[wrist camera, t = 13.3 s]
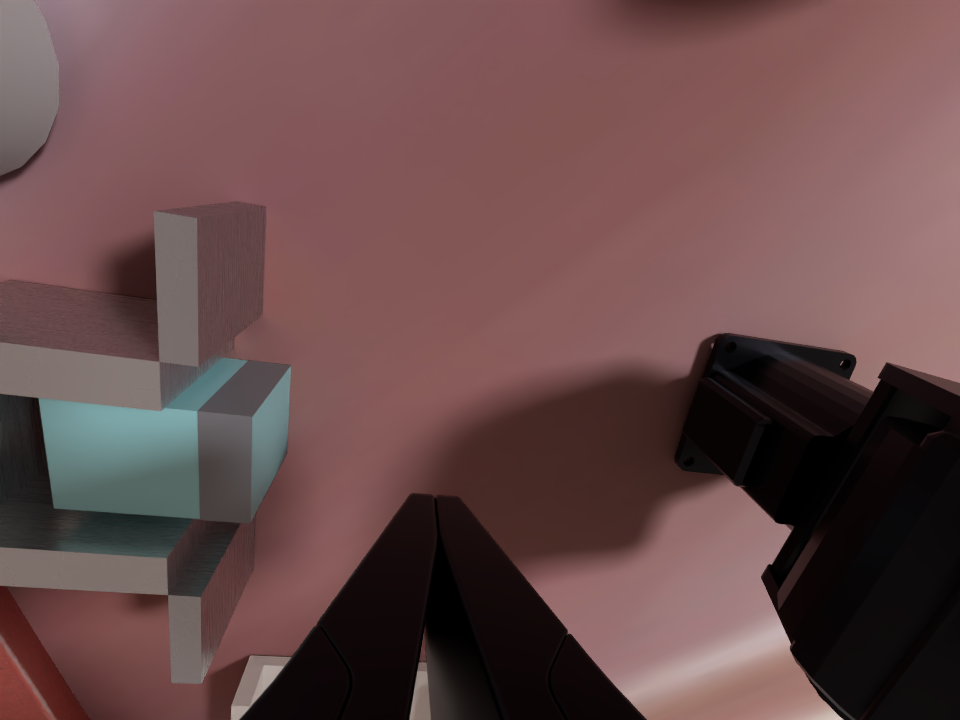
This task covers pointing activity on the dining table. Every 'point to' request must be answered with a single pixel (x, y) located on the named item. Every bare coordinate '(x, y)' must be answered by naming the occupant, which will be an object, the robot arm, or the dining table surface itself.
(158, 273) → the bracket
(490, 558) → the robot arm
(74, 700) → the plant saucer
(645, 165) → the dining table surface
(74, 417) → the plug
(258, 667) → the white flat channel piece
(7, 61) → the can
